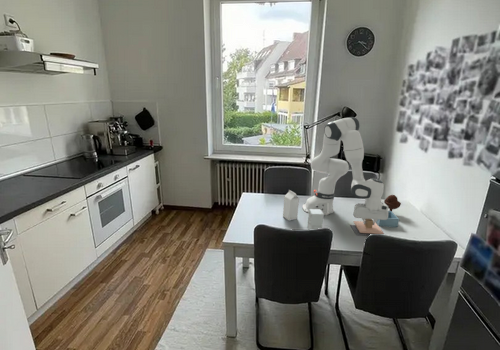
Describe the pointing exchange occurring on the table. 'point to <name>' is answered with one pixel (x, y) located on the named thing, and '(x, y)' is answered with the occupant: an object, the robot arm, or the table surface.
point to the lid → (368, 227)
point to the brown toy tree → (392, 202)
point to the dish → (389, 220)
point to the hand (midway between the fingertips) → (368, 224)
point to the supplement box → (315, 219)
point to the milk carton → (290, 206)
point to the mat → (358, 231)
